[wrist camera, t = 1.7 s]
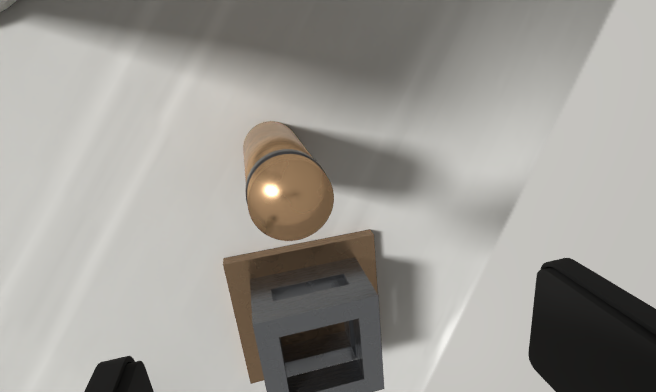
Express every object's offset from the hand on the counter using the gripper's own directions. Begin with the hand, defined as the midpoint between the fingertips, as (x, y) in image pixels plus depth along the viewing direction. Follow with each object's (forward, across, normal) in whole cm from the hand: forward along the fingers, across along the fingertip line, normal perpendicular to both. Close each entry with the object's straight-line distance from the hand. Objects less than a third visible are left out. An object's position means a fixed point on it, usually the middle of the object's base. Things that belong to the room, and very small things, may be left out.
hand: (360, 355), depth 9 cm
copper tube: (+21, 0, 0) cm, 21 cm away
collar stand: (+21, -1, +14) cm, 25 cm away
